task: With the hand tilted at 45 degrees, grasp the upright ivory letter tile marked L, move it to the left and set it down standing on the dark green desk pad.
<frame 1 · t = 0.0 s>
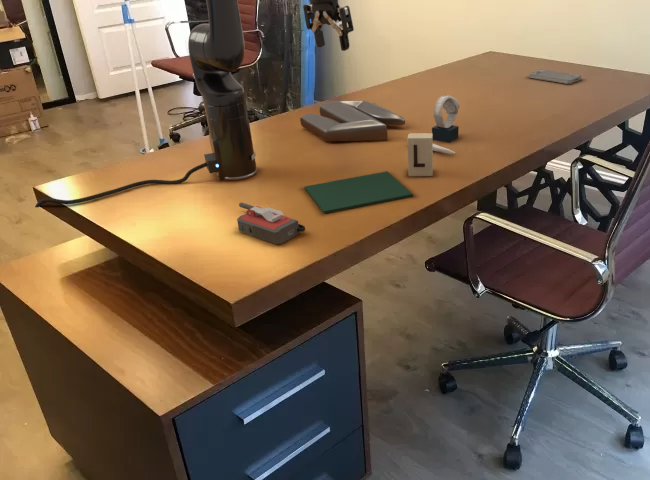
hand: (333, 48, 167), 22 cm above the table, tool pointing down, fingers open, 8 cm apart
emblem: (352, 129, 183), on the table
walkie-talkie: (262, 228, 130), on the table
desk pad: (357, 192, 144), on the table
watch: (445, 139, 173), on the table
letter tile: (420, 173, 152), on the table
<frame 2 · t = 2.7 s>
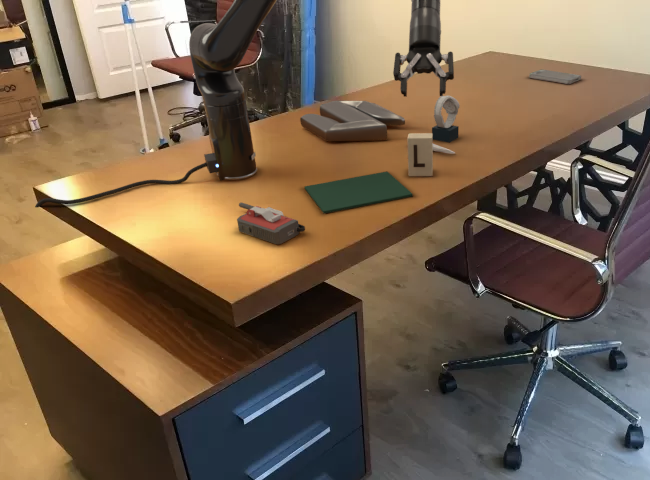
hand: (423, 94, 154), 15 cm above the table, tool tilted 45°, fingers open, 8 cm apart
nothing on the table moved.
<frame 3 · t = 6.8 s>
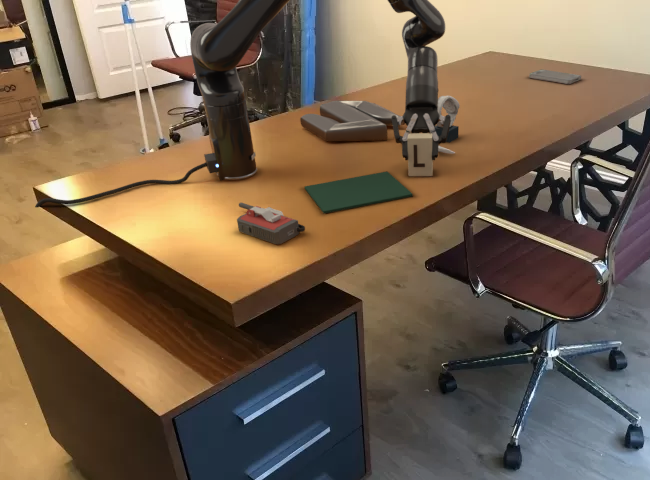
hand: (420, 158, 148), 4 cm above the table, tool tilted 45°, fingers closed on letter tile, 5 cm apart
letter tile: (420, 173, 152), on the table, touching gripper
everything else where it was.
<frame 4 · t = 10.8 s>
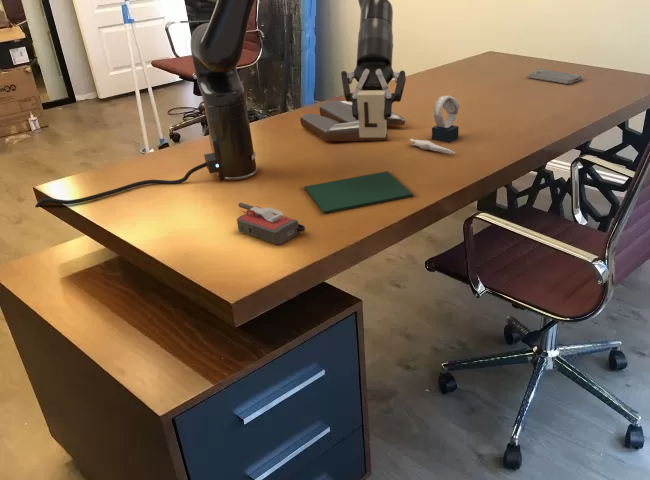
hand: (371, 117, 136), 16 cm above the table, tool tilted 45°, fingers closed on letter tile, 5 cm apart
letter tile: (373, 135, 140), point 12 cm above the table, touching gripper
everything else where it was.
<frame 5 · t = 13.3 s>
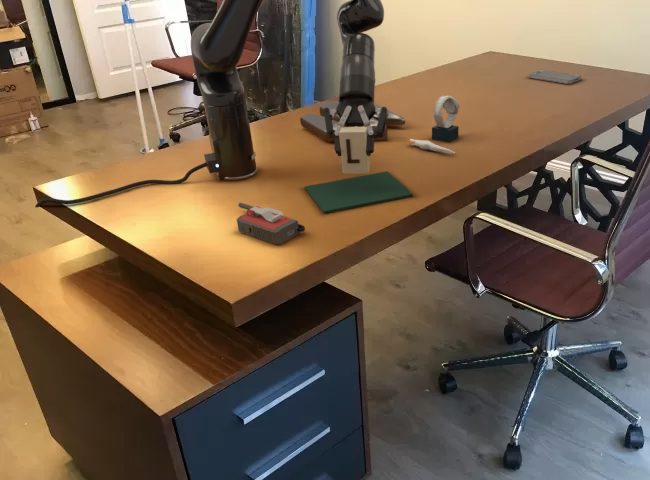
hand: (354, 154, 137), 9 cm above the table, tool tilted 45°, fingers closed on letter tile, 5 cm apart
letter tile: (356, 170, 141), point 5 cm above the table, touching gripper
everything else where it was.
when the fingers open (5 cm above the table, at t = 15.1 s): letter tile stays where it is, resting on desk pad.
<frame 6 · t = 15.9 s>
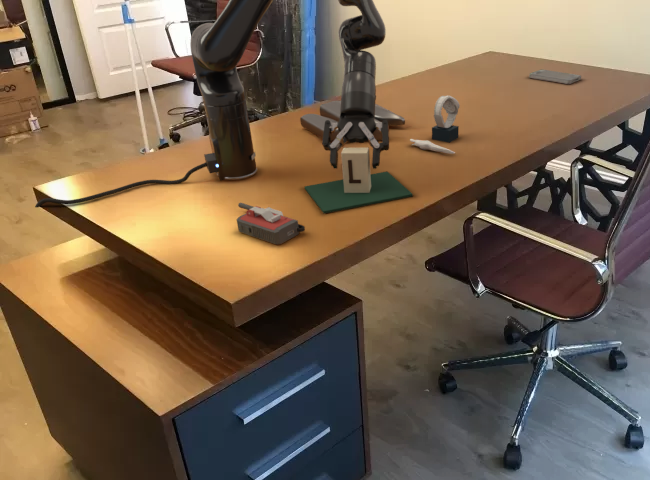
hand: (354, 167, 140), 6 cm above the table, tool tilted 45°, fingers open, 8 cm apart
letter tile: (357, 189, 144), point 1 cm above the table, touching desk pad
everything else where it was.
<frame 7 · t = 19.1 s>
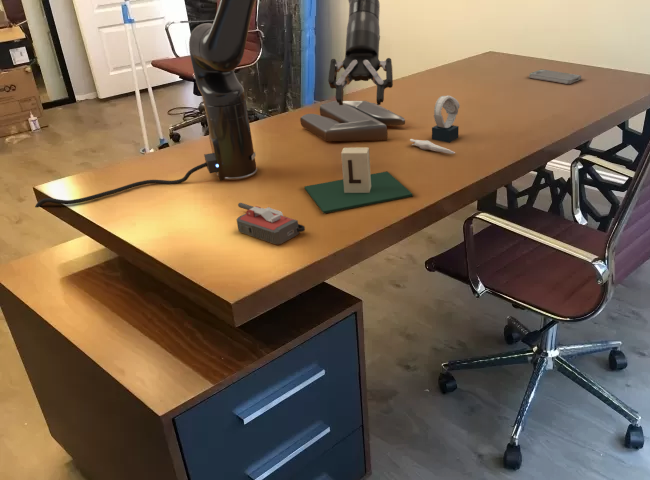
hand: (359, 103, 145), 16 cm above the table, tool tilted 45°, fingers open, 8 cm apart
nothing on the table moved.
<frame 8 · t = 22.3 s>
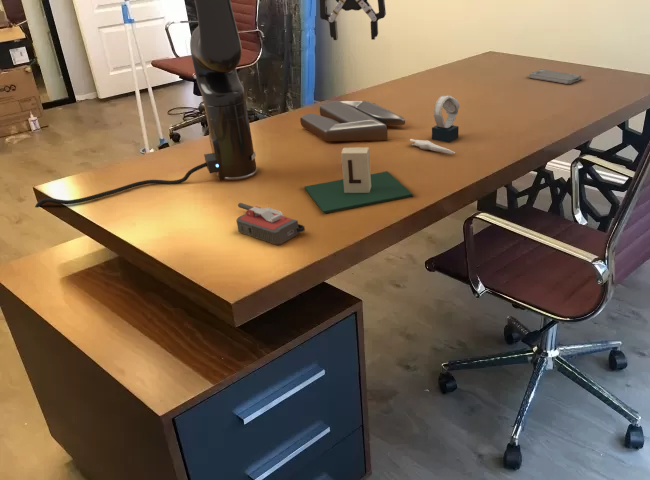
hand: (354, 39, 146), 28 cm above the table, tool pointing down, fingers open, 8 cm apart
nothing on the table moved.
at the end: letter tile inside the target area on the desk pad (0.1 cm from its centre), point 0.6 cm above the desk pad's base; letter tile tilted 0°; the gripper is holding nothing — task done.
